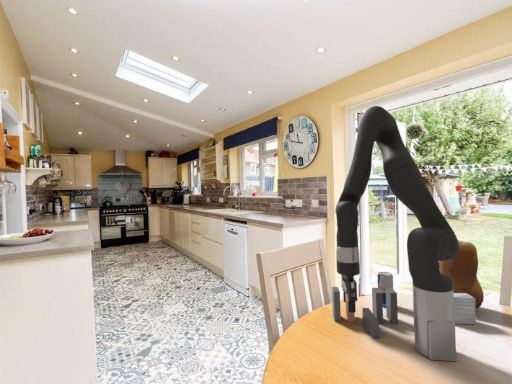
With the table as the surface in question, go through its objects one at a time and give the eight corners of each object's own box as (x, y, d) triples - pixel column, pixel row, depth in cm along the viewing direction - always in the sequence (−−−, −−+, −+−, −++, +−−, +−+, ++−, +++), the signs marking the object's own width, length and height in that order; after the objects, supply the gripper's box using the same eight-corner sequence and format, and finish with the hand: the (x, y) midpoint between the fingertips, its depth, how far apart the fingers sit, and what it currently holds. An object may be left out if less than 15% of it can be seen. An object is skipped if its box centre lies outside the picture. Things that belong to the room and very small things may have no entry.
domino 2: (354, 322, 92) (353, 292, 93) (348, 322, 93) (347, 291, 93) (351, 315, 97) (350, 287, 98) (345, 315, 98) (344, 287, 98)
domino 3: (369, 323, 92) (379, 338, 82) (362, 323, 92) (372, 338, 82) (368, 307, 92) (378, 321, 82) (362, 307, 92) (371, 321, 82)
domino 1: (340, 321, 93) (339, 291, 93) (334, 321, 93) (333, 291, 94) (338, 315, 98) (337, 286, 98) (332, 315, 98) (331, 286, 98)
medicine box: (467, 318, 93) (466, 292, 93) (476, 325, 88) (475, 297, 88) (442, 318, 94) (441, 292, 94) (450, 324, 89) (449, 297, 89)
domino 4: (383, 323, 91) (382, 292, 91) (376, 323, 91) (375, 292, 92) (378, 316, 96) (377, 287, 96) (372, 316, 96) (371, 287, 96)
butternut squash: (484, 307, 102) (481, 238, 102) (484, 320, 91) (481, 244, 92) (439, 298, 111) (437, 235, 111) (434, 310, 100) (432, 240, 101)
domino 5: (397, 323, 90) (396, 293, 91) (391, 323, 91) (390, 293, 91) (392, 317, 95) (391, 288, 96) (386, 317, 96) (385, 287, 96)
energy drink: (375, 303, 107) (374, 272, 108) (386, 301, 109) (385, 271, 109) (385, 308, 102) (384, 276, 102) (397, 306, 104) (396, 274, 104)
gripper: (364, 264, 88) (366, 316, 87) (354, 254, 102) (356, 299, 101) (339, 264, 89) (341, 315, 88) (333, 254, 103) (334, 299, 102)
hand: (349, 306), depth 95 cm, fingers open, 8 cm apart
